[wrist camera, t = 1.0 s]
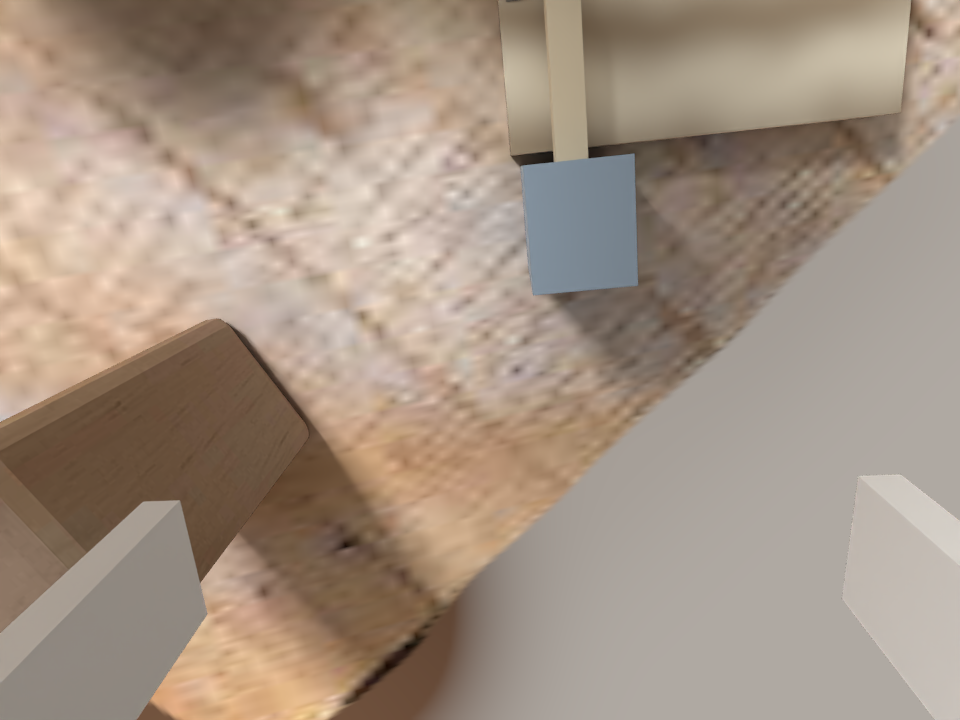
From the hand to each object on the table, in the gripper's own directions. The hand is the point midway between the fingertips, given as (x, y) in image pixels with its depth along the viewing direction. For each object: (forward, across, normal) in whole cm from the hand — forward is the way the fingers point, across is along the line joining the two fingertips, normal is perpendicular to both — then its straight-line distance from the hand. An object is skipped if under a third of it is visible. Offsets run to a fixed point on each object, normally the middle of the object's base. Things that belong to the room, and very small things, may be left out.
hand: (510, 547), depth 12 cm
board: (+27, +10, +14) cm, 32 cm away
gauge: (+27, +3, +9) cm, 28 cm away
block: (+27, -20, -7) cm, 34 cm away
